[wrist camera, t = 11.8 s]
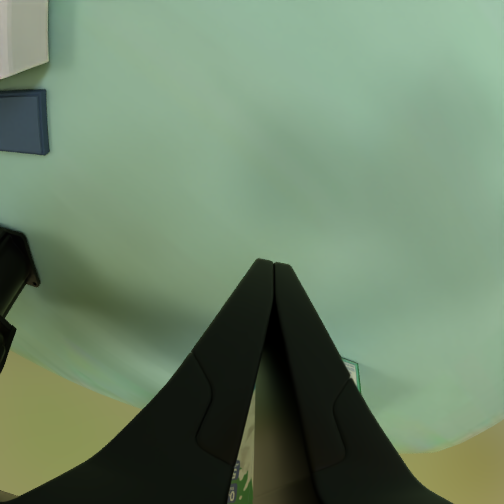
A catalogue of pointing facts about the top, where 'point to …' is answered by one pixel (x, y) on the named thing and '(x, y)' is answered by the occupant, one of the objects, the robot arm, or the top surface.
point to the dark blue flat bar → (23, 122)
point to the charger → (23, 35)
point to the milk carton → (243, 470)
